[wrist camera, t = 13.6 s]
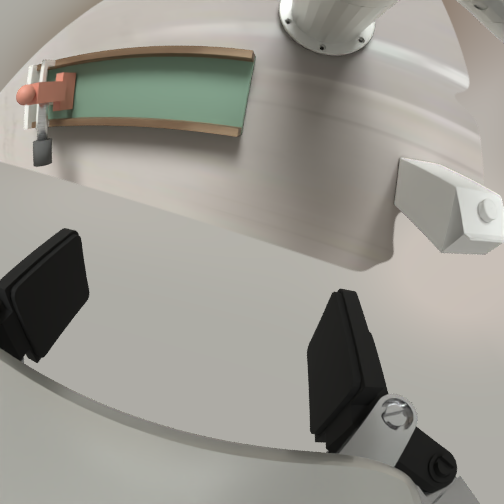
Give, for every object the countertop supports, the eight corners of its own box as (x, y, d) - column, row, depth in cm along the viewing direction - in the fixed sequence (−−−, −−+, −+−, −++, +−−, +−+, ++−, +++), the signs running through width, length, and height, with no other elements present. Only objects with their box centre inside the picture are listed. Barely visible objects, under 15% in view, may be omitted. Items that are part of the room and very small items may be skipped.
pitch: (48, 66, 29) (33, 66, 26) (255, 56, 29) (252, 50, 26) (42, 124, 35) (27, 128, 31) (241, 134, 35) (237, 137, 31)
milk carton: (431, 208, 36) (503, 273, 20) (393, 204, 37) (458, 274, 20) (438, 163, 33) (523, 209, 16) (399, 156, 34) (479, 200, 17)
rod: (68, 74, 29) (14, 75, 19) (81, 72, 29) (27, 71, 19) (62, 153, 36) (11, 173, 25) (75, 154, 36) (23, 174, 25)
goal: (44, 66, 29) (23, 66, 24) (67, 60, 29) (45, 59, 24) (39, 125, 34) (18, 130, 29) (60, 124, 34) (38, 129, 29)
